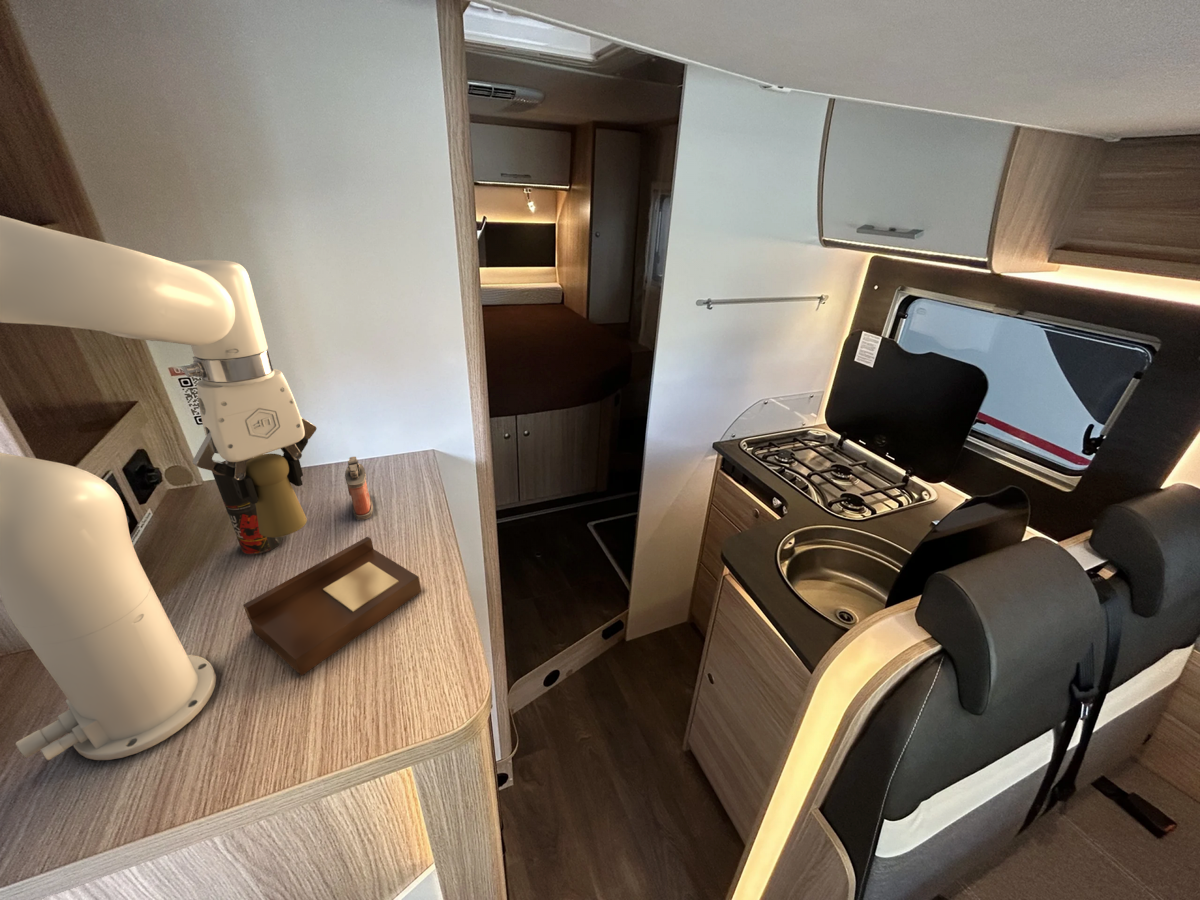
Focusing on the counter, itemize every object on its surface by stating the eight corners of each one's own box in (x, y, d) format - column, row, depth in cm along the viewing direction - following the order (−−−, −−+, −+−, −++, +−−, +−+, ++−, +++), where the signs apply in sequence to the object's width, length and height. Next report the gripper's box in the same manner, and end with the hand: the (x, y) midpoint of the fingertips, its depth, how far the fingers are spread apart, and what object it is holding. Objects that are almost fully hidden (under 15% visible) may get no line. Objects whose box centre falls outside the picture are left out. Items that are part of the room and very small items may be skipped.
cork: (285, 540, 69) (265, 470, 64) (248, 533, 70) (225, 465, 65) (316, 516, 75) (299, 451, 70) (281, 511, 76) (262, 446, 71)
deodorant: (290, 533, 86) (266, 458, 79) (266, 555, 81) (238, 476, 74) (258, 531, 87) (231, 455, 80) (232, 552, 81) (201, 473, 75)
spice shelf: (301, 676, 61) (290, 647, 59) (253, 632, 67) (242, 604, 65) (421, 591, 75) (416, 565, 72) (373, 561, 81) (367, 536, 78)
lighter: (352, 499, 96) (341, 453, 92) (371, 495, 98) (361, 450, 93) (353, 521, 90) (342, 473, 85) (374, 517, 91) (363, 470, 87)
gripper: (165, 390, 54) (216, 529, 62) (320, 357, 67) (346, 476, 74) (139, 376, 57) (190, 509, 65) (291, 348, 70) (318, 462, 78)
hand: (273, 490), depth 70 cm, fingers closed on cork, 5 cm apart
